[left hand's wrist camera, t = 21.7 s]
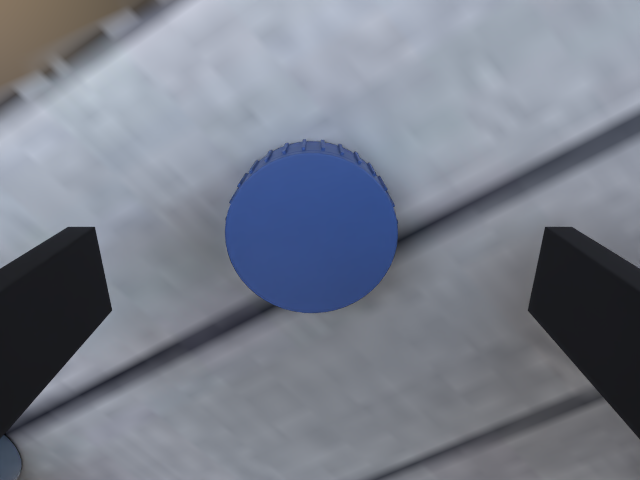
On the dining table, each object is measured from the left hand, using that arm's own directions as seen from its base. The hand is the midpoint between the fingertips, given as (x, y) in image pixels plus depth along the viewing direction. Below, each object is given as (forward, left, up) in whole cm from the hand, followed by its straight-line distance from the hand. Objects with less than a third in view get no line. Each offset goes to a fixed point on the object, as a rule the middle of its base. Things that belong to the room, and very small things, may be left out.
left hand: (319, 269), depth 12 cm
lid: (0, -1, -1) cm, 1 cm away
